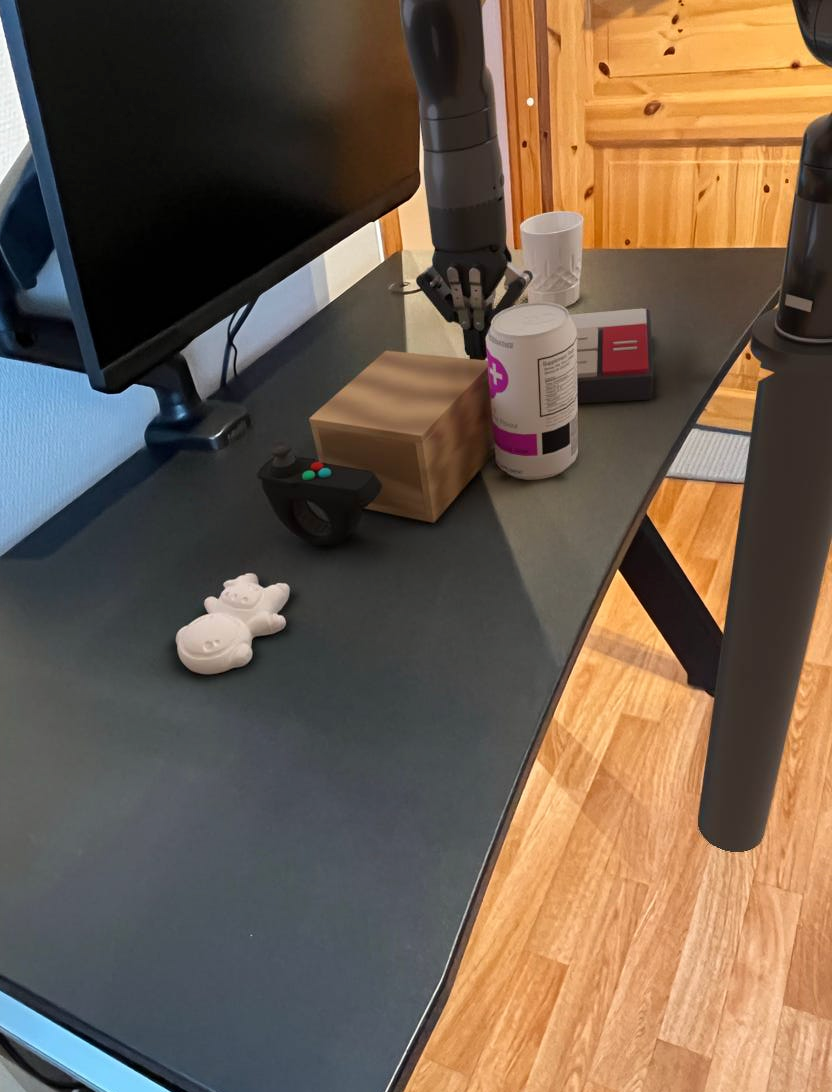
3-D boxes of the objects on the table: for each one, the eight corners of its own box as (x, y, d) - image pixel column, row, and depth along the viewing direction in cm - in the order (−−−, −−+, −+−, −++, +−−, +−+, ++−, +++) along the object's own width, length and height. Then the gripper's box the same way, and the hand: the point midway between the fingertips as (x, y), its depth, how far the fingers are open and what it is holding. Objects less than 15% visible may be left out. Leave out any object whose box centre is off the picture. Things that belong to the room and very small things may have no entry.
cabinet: (398, 430, 99) (385, 350, 92) (500, 445, 92) (493, 361, 86) (328, 500, 91) (308, 418, 84) (434, 523, 84) (421, 435, 78)
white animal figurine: (314, 602, 79) (306, 576, 77) (223, 687, 73) (213, 661, 71) (245, 576, 83) (237, 551, 81) (155, 654, 77) (144, 629, 75)
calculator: (546, 376, 94) (553, 310, 104) (548, 411, 97) (554, 344, 107) (654, 368, 91) (650, 302, 101) (652, 405, 94) (648, 336, 104)
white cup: (556, 283, 121) (554, 207, 114) (596, 296, 115) (596, 217, 109) (511, 303, 119) (507, 227, 112) (550, 317, 113) (548, 238, 107)
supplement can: (499, 488, 87) (487, 344, 77) (493, 445, 93) (481, 307, 83) (583, 477, 85) (582, 330, 75) (571, 434, 91) (569, 293, 82)
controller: (292, 517, 90) (269, 431, 83) (397, 538, 84) (380, 447, 77) (269, 542, 87) (243, 455, 80) (375, 565, 81) (356, 473, 75)
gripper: (387, 205, 86) (412, 368, 98) (511, 204, 80) (521, 379, 91) (423, 179, 90) (443, 339, 102) (543, 176, 84) (550, 347, 95)
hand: (480, 358), depth 96 cm, fingers closed
